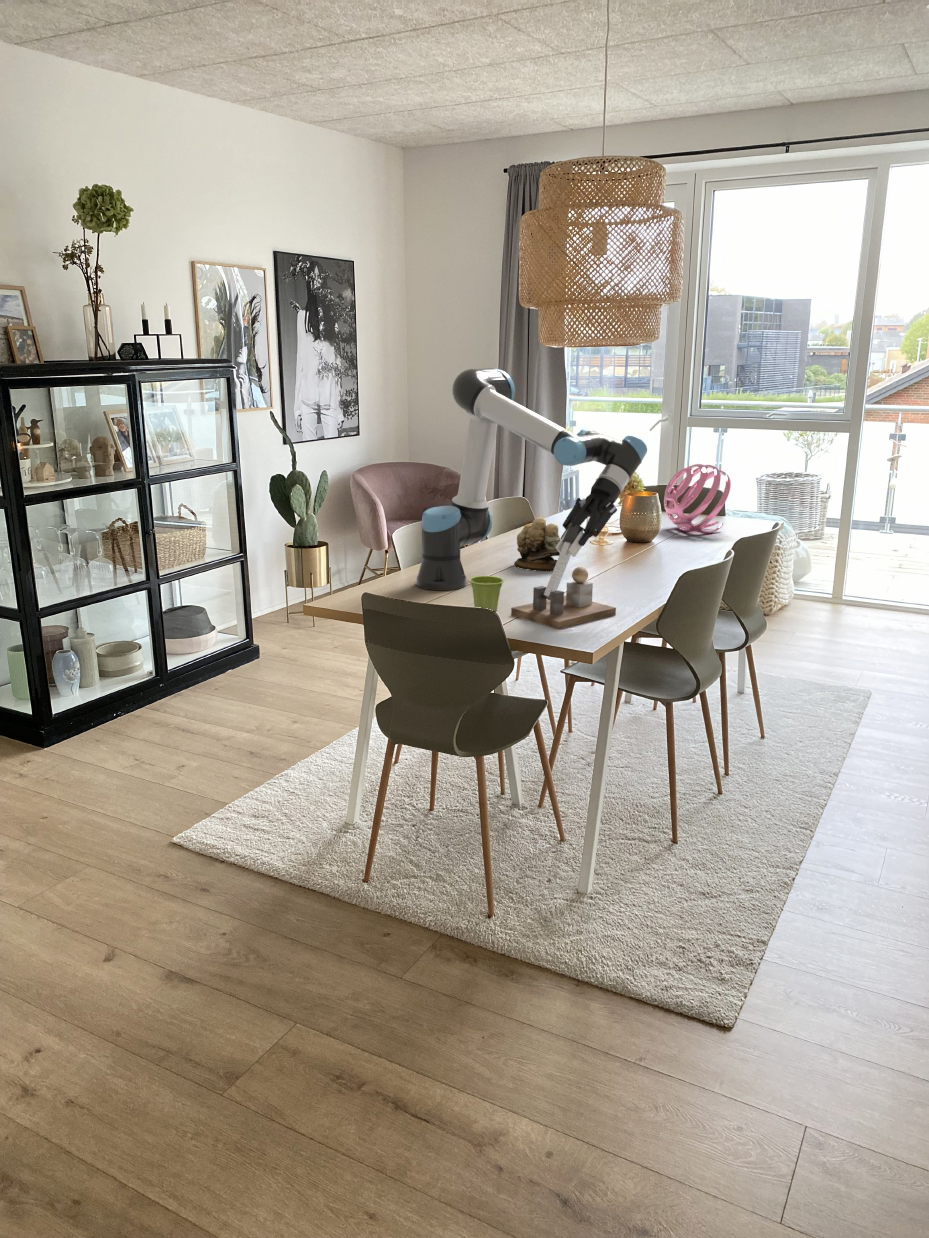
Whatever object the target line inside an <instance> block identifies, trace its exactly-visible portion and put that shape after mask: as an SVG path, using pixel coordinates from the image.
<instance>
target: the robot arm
mask: <svg viewBox="0 0 929 1238" xmlns="http://www.w3.org/2000/svg"><path fill="white" fill-rule="evenodd" d="M451 390H452V396H453V400H454V401H455V403H456V404H457V405H458V406H459V407H460V408H461V409H462V410H464V411H465V413H466V415H467V416H468V417H469V422H468V428H467V433H466V440H465V446H464V447H465V448H464V453H463V461H462V464H461V465H462V467H461V472H460V478H459V479H460V480H459V485H458V490H457V491H458V492H457V495H455V496H454V497H452V499H451V503H450V505H440V506H434V507H430V508H428V509H426V510H425V511H423V513H422V516H421V517H422V518H421V553H422V554H421V555H422V558H421V559H422V560H421V563H420V566H419V570H418V574H417V576H416V585H417V587H418V588H421V589H423V590H424V589H425V590H433V591H452V590H457V589H462V588H465V586H467V578H466V577H467V576H466V573H465V571H464V566H463V563H462V560H461V547H464V546H468V545H470V544H471V545H472V544H473V545H474V544H476V543H478V542H480V541H483V540H484V539H486V538H487V537H488V536H489V534H490V532H491V530H492V527H493V517H492V515H491V511H490V510H489V509H490V508H489V507H490V504H489V503H488V501H487V500H486V495H487V489H488V482H489V477H490V471H491V465H492V461H493V460H492V459H493V454H494V448H495V441H496V436H497V429H498V426H500V427H502V428H504V429H505V430H508V431H510V432H511V433H513V434H515V435H517V436H519V437H520V438H522V439H524V440H525V441H528V442H530V443H531V444H533V445H536V446H537V447H539V448H540V449H543V450H545V451H546V452H548V453H550V454H552V455H553V456H554V458H555V460H556V461H557V462H558V463H559V464H561V465H563V466H568V467H569V466H570V467H572V466H573V467H574V466H578V465H581V464H585V463H590V462H591V463H592V462H597V463H599V464H602V465H605V467H604V468H603V470H602V471H601V472H600V474H599V475H598V478H597V479H596V480H595V482H593V484H592V486H591V488H590V493H589V494H588V495H587V496H586V497H585V498H584V499H581V498H580V497H578V498H576V500H575V504H574V505H573V507H572V508H571V510H570V512H569V513H568V514H567V517H566V518H565V520H564V521H563V523H562V527H563V528H564V530H565V531H564V532H563V533H562V535H561V537H560V541H559V543H558V544H557V546H556V547H555V548H556V549H557V551H558V552H559V553H561V550H562V548H563V545H564V543H565V542H563V539H564V537H565V534H566V532H567V529H568V527H569V524H570V523H573V524H576V525H579V526H582V525H583V523H584V522H585V521H586V520H587V519H588V520H587V523H586V524H585V527H584V529H583V532H580V533H579V535H578V536H577V538H576V539H575V541H574V542H573V544H572V545H571V547H570V548H569V550H568V551H569V552H570V554H571V556H572V557H573V558H576V556H577V555H578V553H579V551H580V550H581V549H582V547H584V546H585V545H586V544H587V542H588V540H589V539H590V538H591V537H595V538H597V537H598V536H599V534H600V533H601V531H603V529H604V528H605V526H606V525H607V523H608V522H609V520H610V519H611V517H612V516H613V515H614V514H615V513H616V512H617V511H618V508H617V507H616V506H615V504H614V503H616V501H617V500H618V498H619V497H620V495H621V492H623V491H624V490H625V487H626V486H627V484H628V483H629V481H630V480H631V478H632V477H633V475H634V473H635V472H636V471H637V469H638V468H639V466H640V465H641V464H642V462H643V460H644V458H645V456H646V455H647V452H648V448H647V444H646V442H645V441H643V440H642V438H640V437H638V436H636V435H631V434H630V435H626V436H624V438H623V439H622V440H619V439H615V438H612V437H610V436H607V435H604V434H602V433H599V432H597V431H595V430H591V429H587V428H582V429H581V430H580V431H579V432H577V434H575V433H573V432H571V431H570V430H567V429H566V428H565V427H562V426H560V425H558V424H557V423H555V422H553V421H551V420H549V419H547V418H545V417H544V416H542V415H540V414H538V413H536V412H534V411H533V410H531V409H528V408H527V407H525V406H524V405H521V404H519V403H517V402H515V401H514V399H515V395H516V387H515V383H514V381H513V379H512V378H511V376H510V375H509V373H507V372H506V371H504V370H502V369H500V368H494V367H493V368H492V367H487V368H469V369H464V370H463V371H462V372H460V373H458V375H457V376H456V378H455V379H454V381H453V384H452V389H451ZM588 517H589V518H588Z"/></svg>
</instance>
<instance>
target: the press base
mask: <svg viewBox="0 0 929 1238" xmlns="http://www.w3.org/2000/svg"><path fill="white" fill-rule="evenodd" d="M593 586H594V583H593V582H589V581H587V580H586V581H585V582H583V583H577V582H575V581H574V580H572V581H567V582H566V593H565V591H562V590H558V589H557V591H553V592H551V593H550V600H548V599H544V598H542V594H543V593H544V592H545V590H546V587H547V586H543V585H540V586H535V587H533V588H532V589H533V591H532V592H533V595H532V596H533V597H532V599H533V600H532V602H531V603H526V604H523V605H522V604H521V605H518V606H513V607H511V609H510V610H511V612H510V614H511V616H512V617H513V616H514V617H518V618H521V619H524V620H527V621H530V622H534V623H537V624H541V625H543V626H547V627H550V628H554V629H557V630H562V629H565V628H568V627H573V626H577V625H581V624H585V623H589V622H593V621H597V620H600V619H605V618H607V617H613V616H616V615H617V614H616V613H617V607H616V606H611V605H609V604H604V603H600V602H595V601H593V591H594V590H593ZM565 594H566V595H565Z"/></svg>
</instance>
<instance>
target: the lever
mask: <svg viewBox="0 0 929 1238" xmlns="http://www.w3.org/2000/svg"><path fill="white" fill-rule="evenodd" d="M583 529H585V527H582V525H580V526H579V525H576V524H573V523H570V524H569V527H568V529H567V532H566V534H565V537H564V539H563V542H565V543H564V545H563V548H562V550H561V553H560V555H559V556H558V557H557V559H556V560H557V563H556V565H555V568H554V570H553V571H551V575H550V577H549V580H548V582H547V585H546V586H545V587H546V590H545V592H544V593H543V594H542V598H544V599H546V600H550V593H551V592H553V591H558V589H559V586H560V583H561V581H562V578H563V576H564V573H565V571H566V569H567V566H568V563H569V561H570V560H571V559H570V558H571V556H572V555H571V554H570V552H569V551H568V550H569V548H570V547H571V545H572V544H573V542H574V541H575V539H576V538H577V536H578V535H579V533H580V532H583V533H584V531H583Z"/></svg>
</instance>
